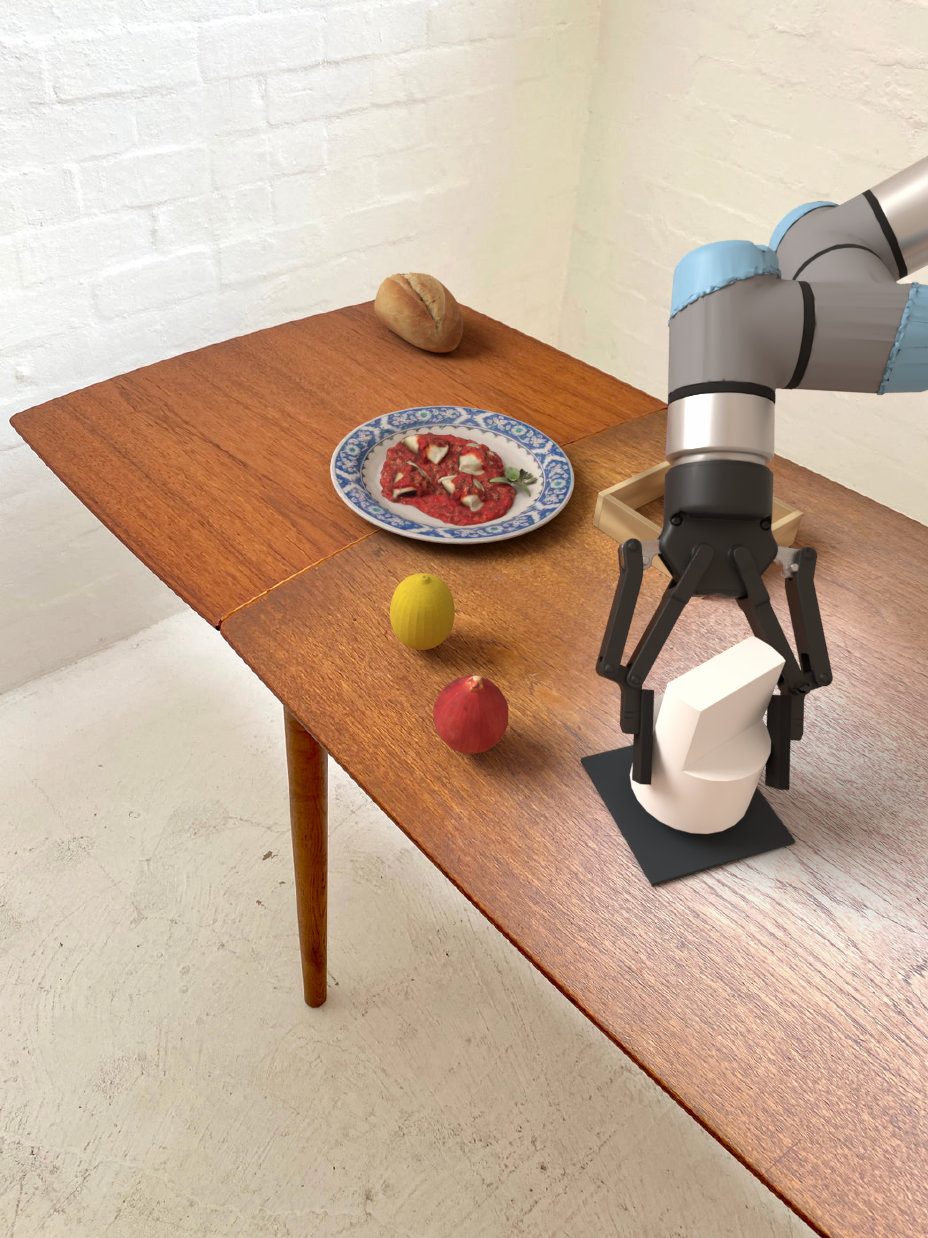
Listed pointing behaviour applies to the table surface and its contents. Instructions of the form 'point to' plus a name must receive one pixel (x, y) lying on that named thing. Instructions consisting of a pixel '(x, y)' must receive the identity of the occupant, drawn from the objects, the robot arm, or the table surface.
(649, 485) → the square wooden frame
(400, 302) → the bread roll
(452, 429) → the ceramic plate
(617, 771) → the slate mat
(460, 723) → the onion
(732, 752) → the cylinder with rectangular tab
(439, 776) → the table surface
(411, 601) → the lemon
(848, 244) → the robot arm
